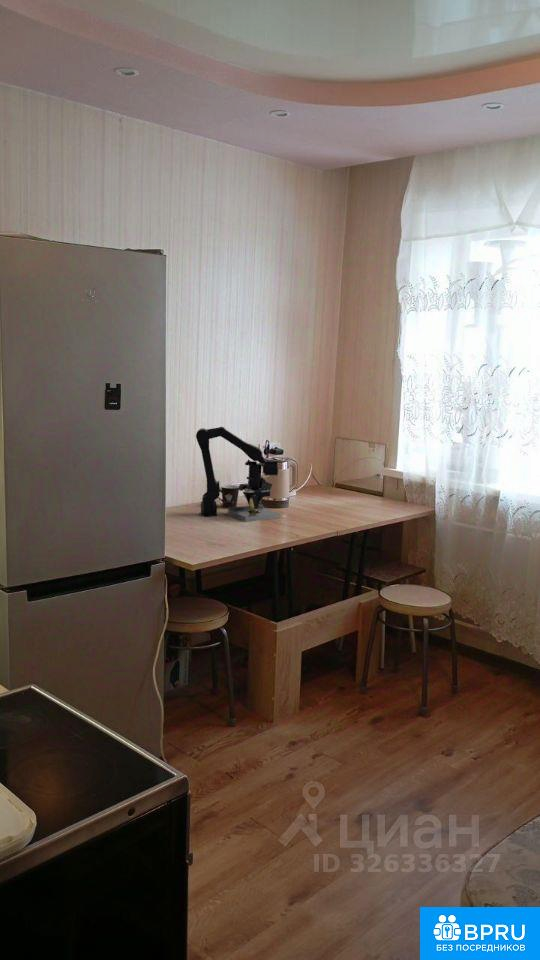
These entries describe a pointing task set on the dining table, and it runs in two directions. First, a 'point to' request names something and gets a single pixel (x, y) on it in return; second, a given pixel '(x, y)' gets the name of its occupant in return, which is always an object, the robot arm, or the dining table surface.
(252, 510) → the gold rounded cylinder
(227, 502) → the coffee mug
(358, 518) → the dining table surface
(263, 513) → the jig
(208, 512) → the robot arm
